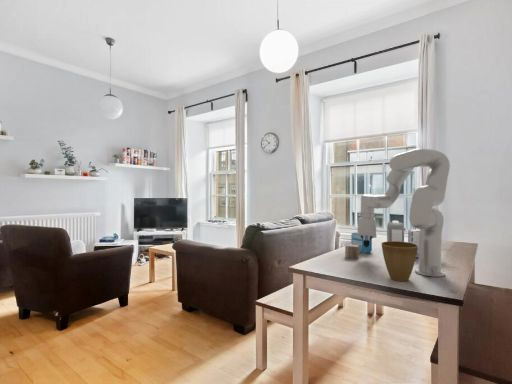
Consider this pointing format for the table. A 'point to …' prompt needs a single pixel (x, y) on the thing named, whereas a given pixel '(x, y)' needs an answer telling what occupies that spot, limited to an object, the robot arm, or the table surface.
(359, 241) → the data package
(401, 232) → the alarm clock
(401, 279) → the plant pot
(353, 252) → the beige cube
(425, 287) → the table surface
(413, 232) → the candy box
